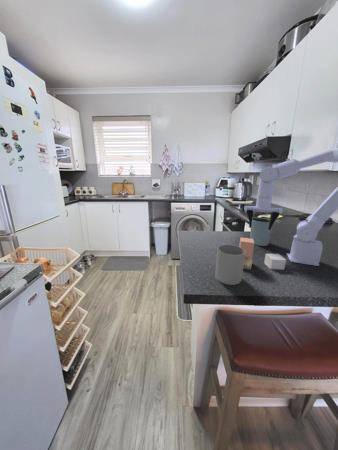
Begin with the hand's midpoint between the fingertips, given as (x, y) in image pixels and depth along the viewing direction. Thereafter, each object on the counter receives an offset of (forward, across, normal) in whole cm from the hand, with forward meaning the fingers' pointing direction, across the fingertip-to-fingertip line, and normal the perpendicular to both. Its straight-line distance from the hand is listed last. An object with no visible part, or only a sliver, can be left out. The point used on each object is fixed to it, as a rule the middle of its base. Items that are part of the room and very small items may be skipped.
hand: (259, 228), depth 83 cm
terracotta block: (+7, +6, +17) cm, 19 cm away
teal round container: (+11, -2, -11) cm, 15 cm away
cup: (+11, +11, +29) cm, 33 cm away
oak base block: (+11, +6, +17) cm, 21 cm away
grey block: (+11, -5, +14) cm, 18 cm away
